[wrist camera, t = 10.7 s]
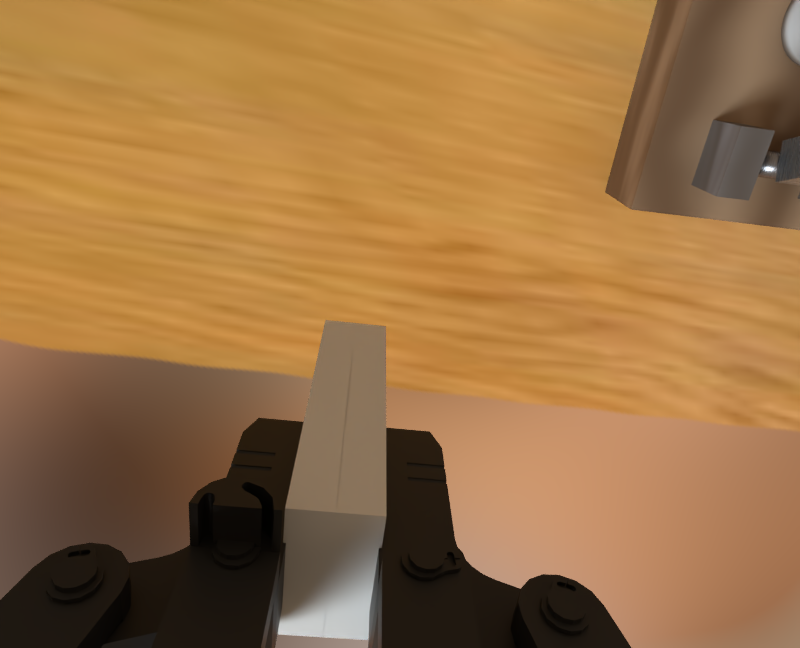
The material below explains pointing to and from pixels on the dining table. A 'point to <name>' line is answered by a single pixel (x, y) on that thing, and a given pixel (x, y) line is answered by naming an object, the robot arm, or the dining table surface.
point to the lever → (783, 163)
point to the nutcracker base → (713, 112)
